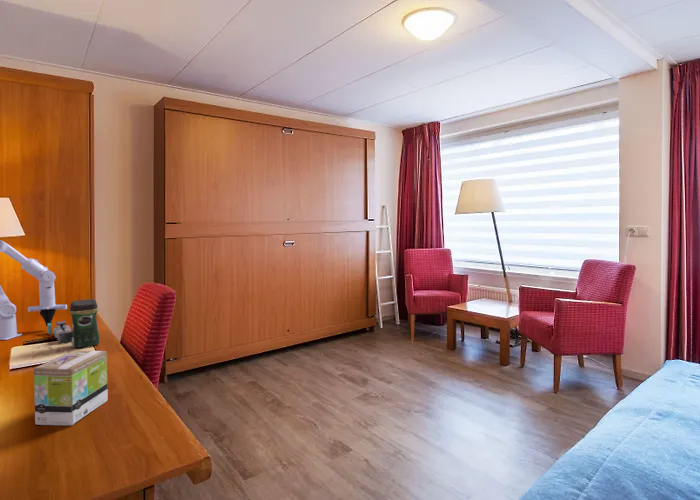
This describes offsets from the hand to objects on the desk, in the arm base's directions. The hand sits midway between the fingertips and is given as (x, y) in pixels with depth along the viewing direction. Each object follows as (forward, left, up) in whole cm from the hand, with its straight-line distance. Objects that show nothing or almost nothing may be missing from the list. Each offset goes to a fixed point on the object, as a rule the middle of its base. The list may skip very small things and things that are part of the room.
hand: (48, 325), depth 194 cm
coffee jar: (+33, -19, -2) cm, 39 cm away
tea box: (+73, -73, -2) cm, 104 cm away
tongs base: (+16, -10, -2) cm, 19 cm away
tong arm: (+16, -10, -2) cm, 19 cm away
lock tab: (+5, -5, -2) cm, 7 cm away
